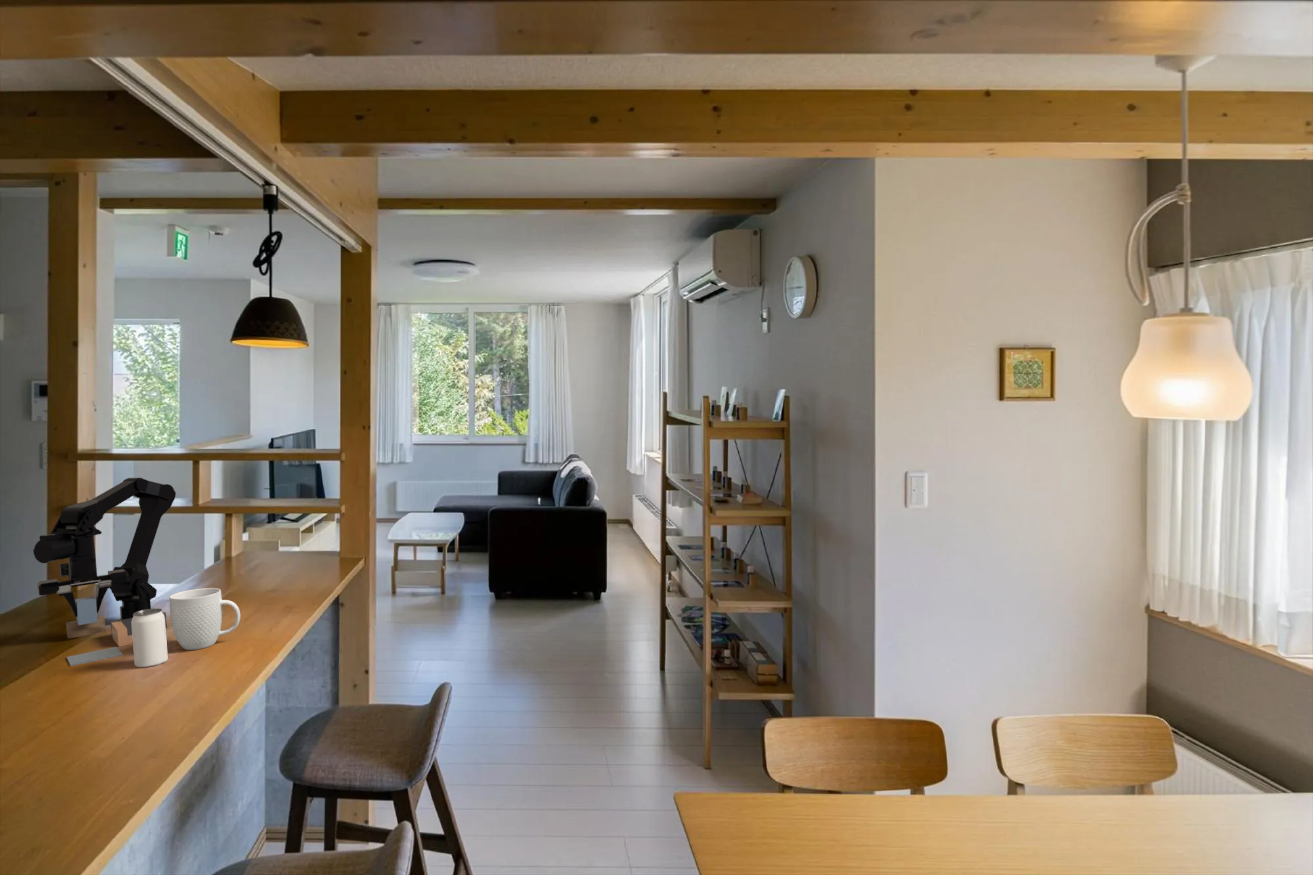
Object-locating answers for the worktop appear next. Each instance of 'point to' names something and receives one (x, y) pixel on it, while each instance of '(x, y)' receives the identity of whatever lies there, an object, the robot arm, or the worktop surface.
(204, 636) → the mug
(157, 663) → the can
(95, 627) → the back block
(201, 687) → the worktop surface
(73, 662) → the pad
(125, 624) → the grey tan flat block
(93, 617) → the plug
